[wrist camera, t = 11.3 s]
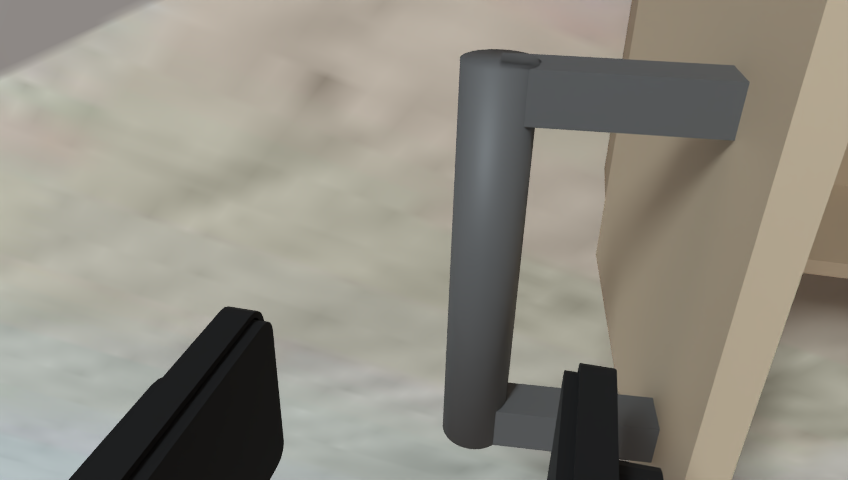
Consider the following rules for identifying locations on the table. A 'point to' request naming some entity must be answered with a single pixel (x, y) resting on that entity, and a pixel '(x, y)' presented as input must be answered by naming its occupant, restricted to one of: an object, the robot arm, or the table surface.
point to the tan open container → (842, 219)
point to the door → (654, 218)
